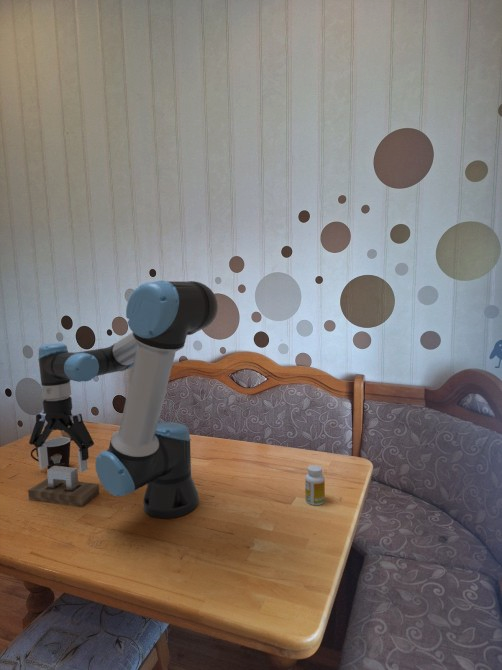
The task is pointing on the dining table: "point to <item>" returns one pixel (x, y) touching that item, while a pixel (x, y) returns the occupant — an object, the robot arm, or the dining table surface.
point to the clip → (63, 477)
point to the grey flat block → (64, 493)
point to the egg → (65, 434)
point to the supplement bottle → (315, 486)
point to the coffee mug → (57, 452)
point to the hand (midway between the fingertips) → (63, 469)
